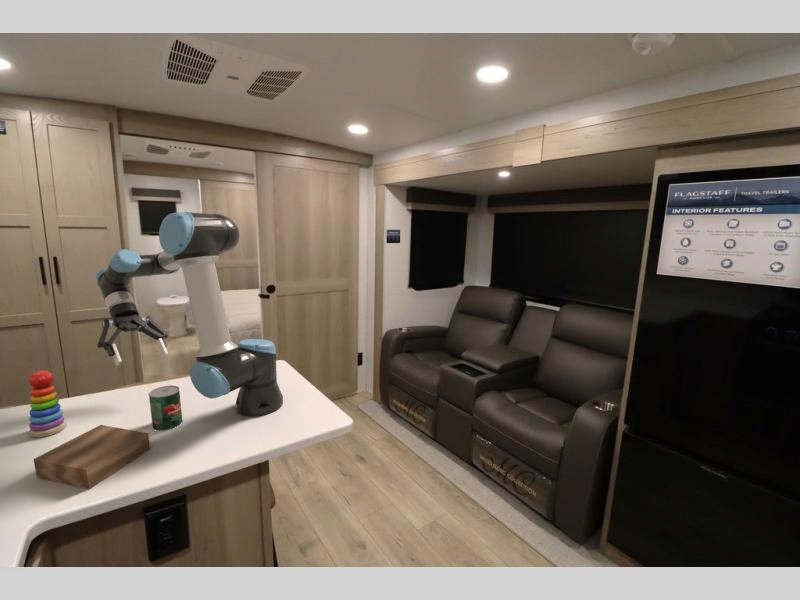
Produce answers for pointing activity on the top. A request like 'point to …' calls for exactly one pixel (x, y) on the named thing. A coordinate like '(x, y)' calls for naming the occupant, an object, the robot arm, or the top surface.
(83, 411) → the top surface
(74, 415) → the top surface
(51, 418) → the stacking toy
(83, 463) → the block
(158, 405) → the canned tomato
